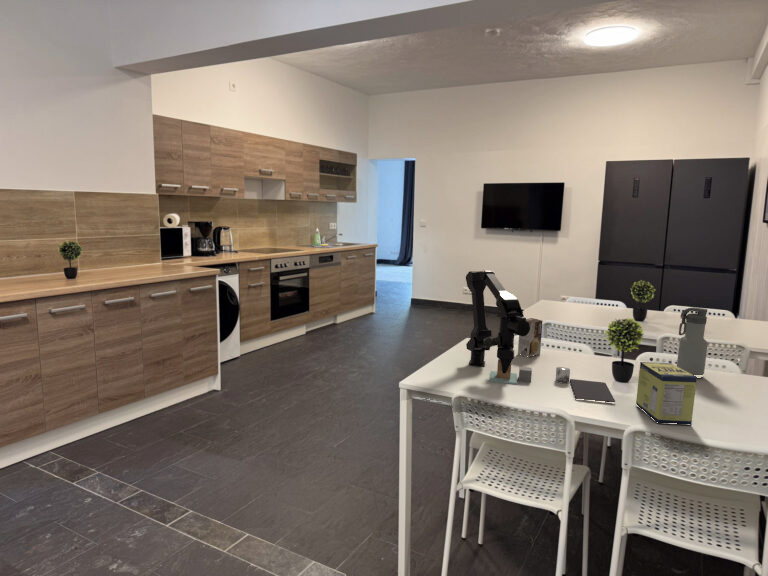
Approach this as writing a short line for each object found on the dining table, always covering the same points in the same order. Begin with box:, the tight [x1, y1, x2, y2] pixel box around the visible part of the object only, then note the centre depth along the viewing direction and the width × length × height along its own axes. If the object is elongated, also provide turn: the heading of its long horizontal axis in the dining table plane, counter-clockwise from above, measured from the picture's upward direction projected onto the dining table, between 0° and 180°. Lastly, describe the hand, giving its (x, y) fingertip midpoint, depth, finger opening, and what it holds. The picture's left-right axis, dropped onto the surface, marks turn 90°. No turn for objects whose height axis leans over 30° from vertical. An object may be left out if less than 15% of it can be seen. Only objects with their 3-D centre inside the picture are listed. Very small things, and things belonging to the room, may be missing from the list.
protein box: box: [635, 361, 698, 425], centre depth 161 cm, size 10×16×16 cm
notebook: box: [569, 378, 616, 403], centre depth 182 cm, size 13×2×21 cm
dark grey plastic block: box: [518, 366, 533, 383], centre depth 193 cm, size 4×4×4 cm
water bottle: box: [676, 306, 709, 375], centre depth 204 cm, size 10×10×28 cm
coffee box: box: [517, 317, 543, 358], centre depth 229 cm, size 9×6×16 cm
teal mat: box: [489, 370, 518, 385], centre depth 195 cm, size 12×10×1 cm
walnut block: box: [496, 358, 512, 379], centre depth 194 cm, size 5×5×6 cm
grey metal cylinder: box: [554, 366, 571, 384], centre depth 193 cm, size 5×5×5 cm
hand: (504, 369), depth 194 cm, fingers open, 9 cm apart
